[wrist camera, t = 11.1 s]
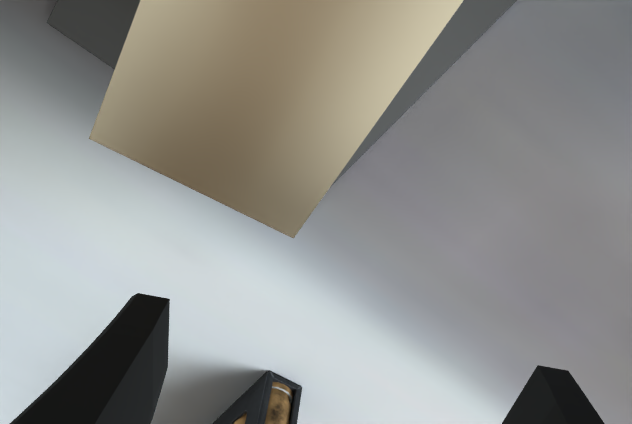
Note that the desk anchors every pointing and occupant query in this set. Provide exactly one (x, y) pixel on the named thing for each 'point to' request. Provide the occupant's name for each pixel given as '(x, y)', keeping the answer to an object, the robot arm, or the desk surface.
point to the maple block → (261, 93)
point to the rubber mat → (454, 40)
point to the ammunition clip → (265, 403)
